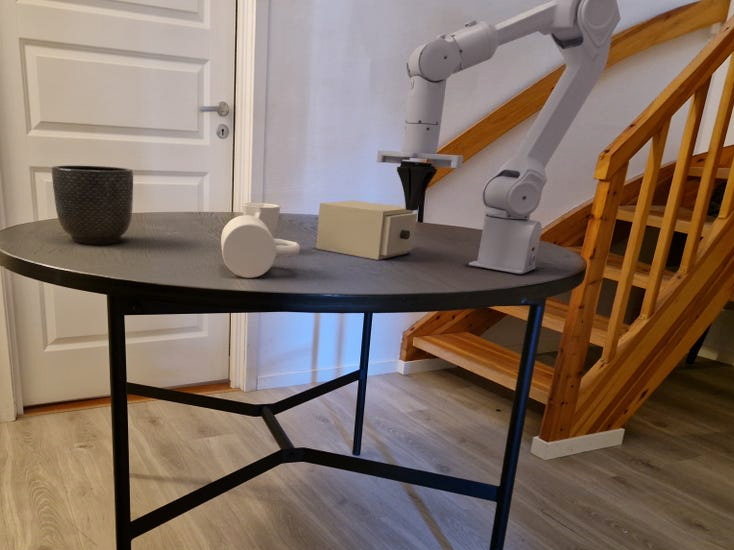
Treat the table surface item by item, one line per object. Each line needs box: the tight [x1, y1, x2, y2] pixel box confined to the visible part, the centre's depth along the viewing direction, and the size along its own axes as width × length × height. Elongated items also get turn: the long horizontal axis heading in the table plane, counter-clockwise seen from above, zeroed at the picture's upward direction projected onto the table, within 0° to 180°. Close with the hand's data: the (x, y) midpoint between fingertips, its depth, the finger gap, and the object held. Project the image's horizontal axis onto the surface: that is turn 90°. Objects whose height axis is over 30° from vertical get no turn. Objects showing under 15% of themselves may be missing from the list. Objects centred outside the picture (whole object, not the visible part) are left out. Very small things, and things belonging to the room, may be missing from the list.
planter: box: [51, 165, 134, 246], centre depth 111 cm, size 14×14×13 cm
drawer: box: [380, 212, 418, 256], centre depth 116 cm, size 14×10×7 cm
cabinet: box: [316, 199, 414, 261], centre depth 117 cm, size 14×12×9 cm
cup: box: [241, 202, 281, 238], centre depth 112 cm, size 7×10×8 cm
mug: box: [220, 214, 301, 279], centre depth 94 cm, size 12×10×8 cm
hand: (411, 209), depth 105 cm, fingers closed
